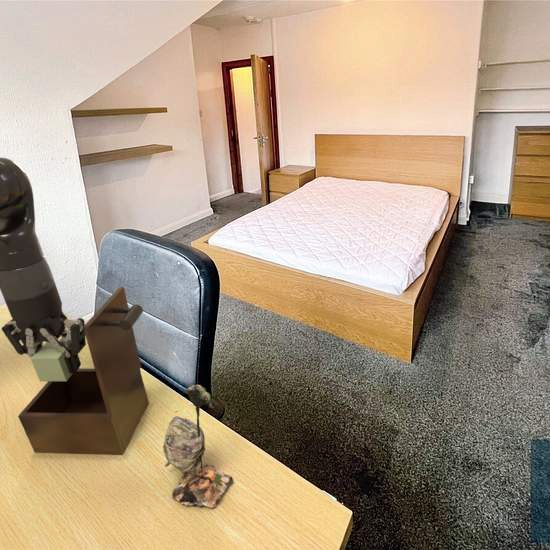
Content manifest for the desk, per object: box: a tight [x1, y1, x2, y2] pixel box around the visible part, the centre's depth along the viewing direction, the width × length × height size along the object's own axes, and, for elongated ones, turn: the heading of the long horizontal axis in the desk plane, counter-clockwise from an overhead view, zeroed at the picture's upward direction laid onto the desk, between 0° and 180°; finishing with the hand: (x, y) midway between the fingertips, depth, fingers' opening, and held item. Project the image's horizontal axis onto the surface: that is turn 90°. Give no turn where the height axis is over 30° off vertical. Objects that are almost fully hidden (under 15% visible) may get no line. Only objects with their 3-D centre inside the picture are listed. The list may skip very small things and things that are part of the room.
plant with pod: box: [162, 384, 234, 510], centre depth 62 cm, size 8×11×20 cm
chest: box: [17, 367, 150, 456], centre depth 77 cm, size 17×13×9 cm
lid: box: [83, 286, 144, 416], centre depth 70 cm, size 18×13×5 cm
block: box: [30, 341, 72, 382], centre depth 72 cm, size 5×5×5 cm
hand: (60, 370), depth 73 cm, fingers closed on block, 5 cm apart
